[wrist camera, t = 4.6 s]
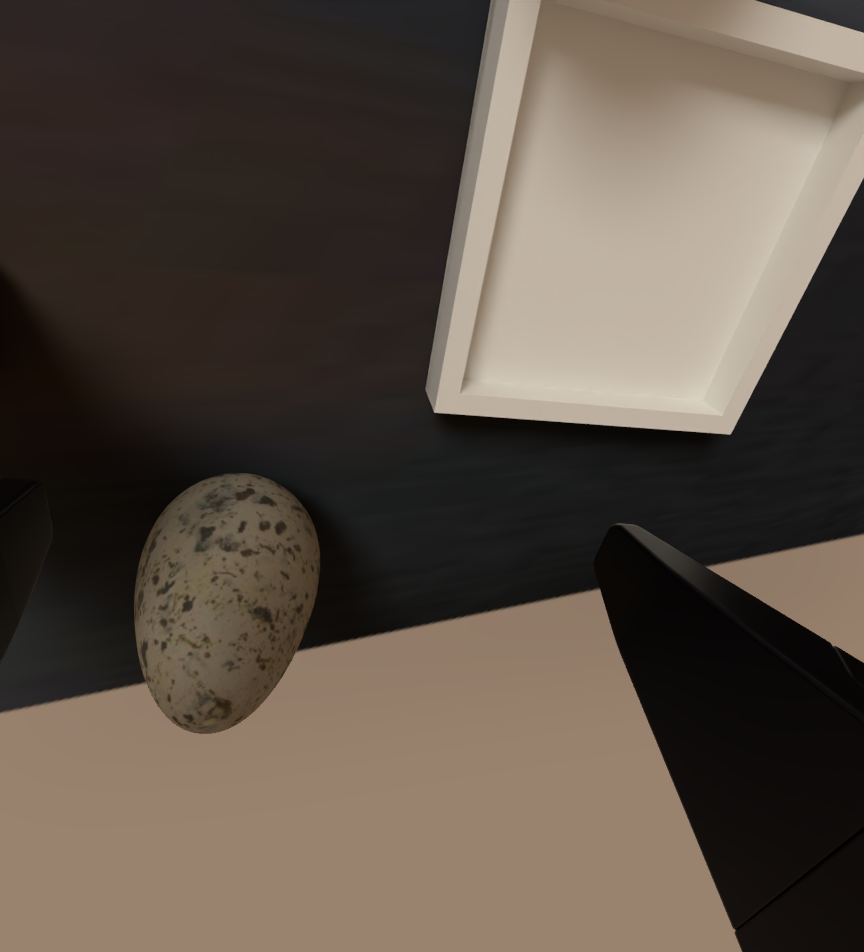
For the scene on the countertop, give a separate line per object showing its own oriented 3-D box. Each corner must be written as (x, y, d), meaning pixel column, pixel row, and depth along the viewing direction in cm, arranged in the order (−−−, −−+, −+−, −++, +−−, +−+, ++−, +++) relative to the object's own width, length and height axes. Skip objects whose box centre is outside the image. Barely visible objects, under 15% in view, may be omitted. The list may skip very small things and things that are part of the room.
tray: (425, 389, 21) (434, 412, 19) (498, -48, 14) (522, -70, 13) (702, 412, 24) (730, 434, 22) (869, 59, 17) (928, 52, 15)
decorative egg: (141, 462, 20) (19, 691, 12) (292, 423, 21) (273, 623, 12) (208, 570, 24) (148, 806, 16) (337, 536, 24) (345, 751, 16)
